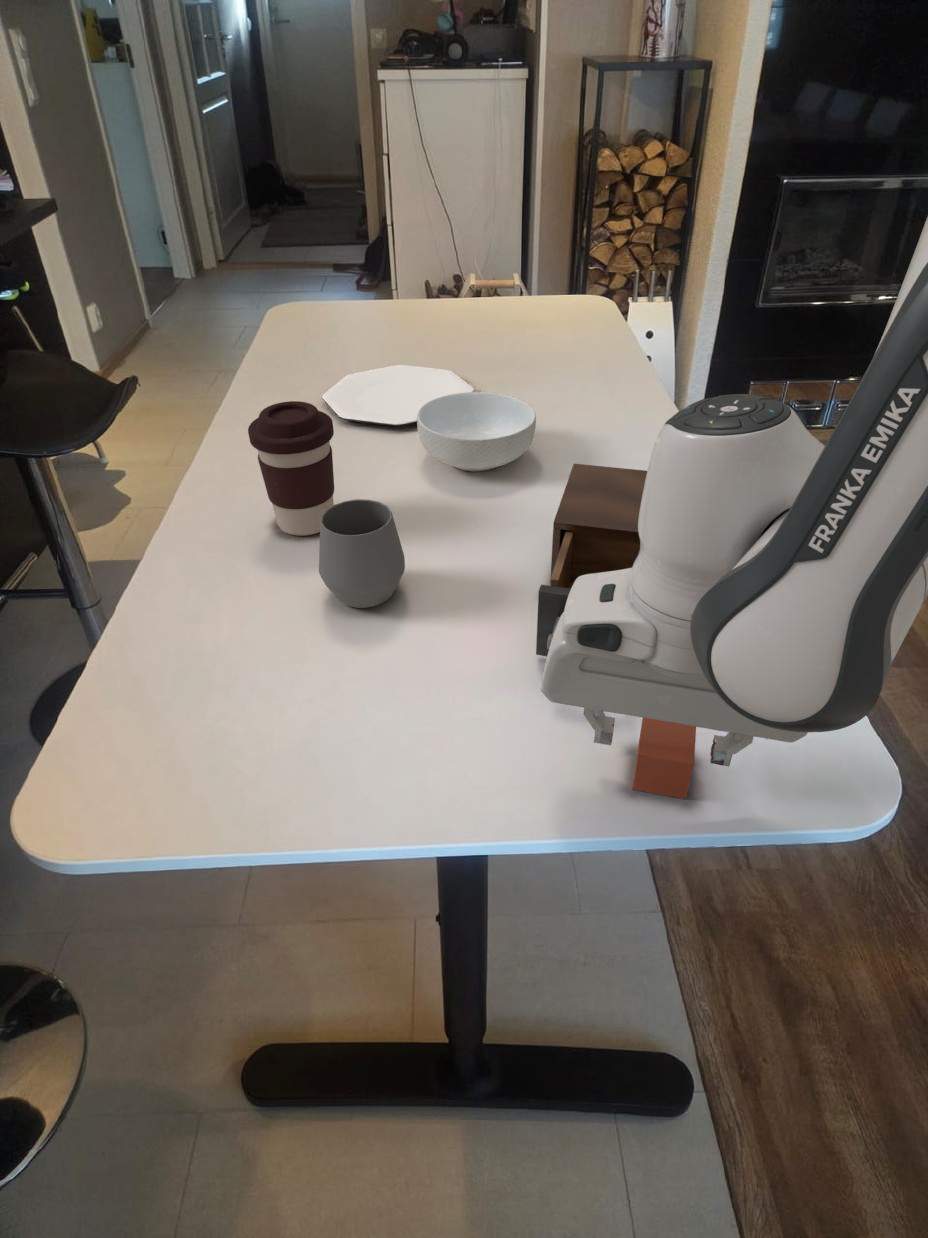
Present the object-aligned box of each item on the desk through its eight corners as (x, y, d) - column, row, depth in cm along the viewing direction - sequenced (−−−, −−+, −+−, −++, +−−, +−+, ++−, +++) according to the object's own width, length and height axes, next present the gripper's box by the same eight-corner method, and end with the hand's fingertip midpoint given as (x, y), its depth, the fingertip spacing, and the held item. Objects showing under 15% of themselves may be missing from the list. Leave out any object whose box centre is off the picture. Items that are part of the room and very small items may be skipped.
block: (688, 760, 69) (696, 724, 67) (686, 799, 66) (694, 763, 63) (637, 751, 70) (643, 715, 68) (632, 789, 67) (638, 753, 64)
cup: (408, 616, 87) (402, 537, 80) (321, 622, 86) (308, 543, 80) (405, 567, 94) (399, 492, 88) (326, 573, 94) (314, 497, 87)
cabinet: (655, 611, 86) (667, 535, 80) (549, 596, 89) (553, 521, 83) (664, 544, 97) (675, 473, 91) (569, 533, 99) (573, 463, 93)
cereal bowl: (547, 480, 110) (549, 432, 106) (428, 493, 108) (425, 444, 104) (519, 429, 123) (520, 384, 119) (412, 439, 121) (409, 395, 117)
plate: (494, 411, 129) (494, 402, 128) (356, 442, 121) (355, 433, 120) (434, 365, 146) (433, 357, 145) (309, 390, 138) (308, 381, 137)
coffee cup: (270, 506, 106) (249, 398, 97) (345, 500, 107) (331, 392, 98) (264, 546, 98) (241, 432, 89) (345, 539, 99) (330, 426, 90)
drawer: (637, 700, 74) (647, 635, 69) (527, 682, 76) (529, 618, 72) (652, 596, 87) (661, 535, 82) (557, 584, 89) (560, 523, 84)
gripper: (836, 612, 58) (790, 744, 66) (556, 573, 62) (546, 702, 71) (845, 668, 53) (795, 802, 62) (541, 622, 57) (533, 754, 66)
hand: (660, 749), depth 66 cm, fingers open, 8 cm apart
